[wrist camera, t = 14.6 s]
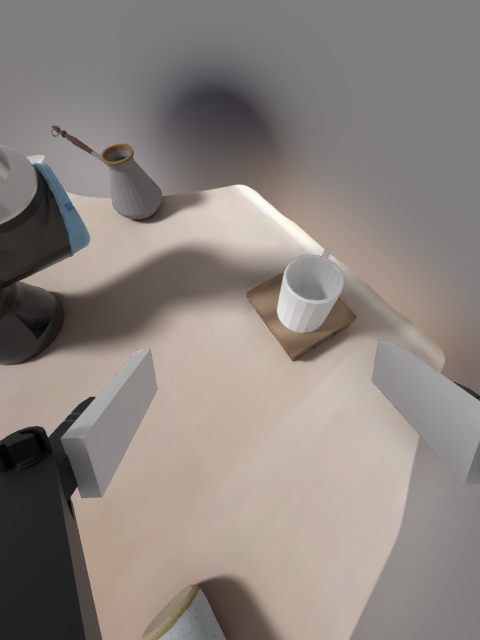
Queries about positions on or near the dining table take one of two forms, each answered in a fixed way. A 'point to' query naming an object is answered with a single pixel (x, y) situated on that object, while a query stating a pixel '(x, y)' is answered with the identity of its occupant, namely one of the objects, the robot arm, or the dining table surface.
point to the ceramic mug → (185, 619)
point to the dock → (292, 342)
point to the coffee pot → (125, 180)
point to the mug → (309, 292)
